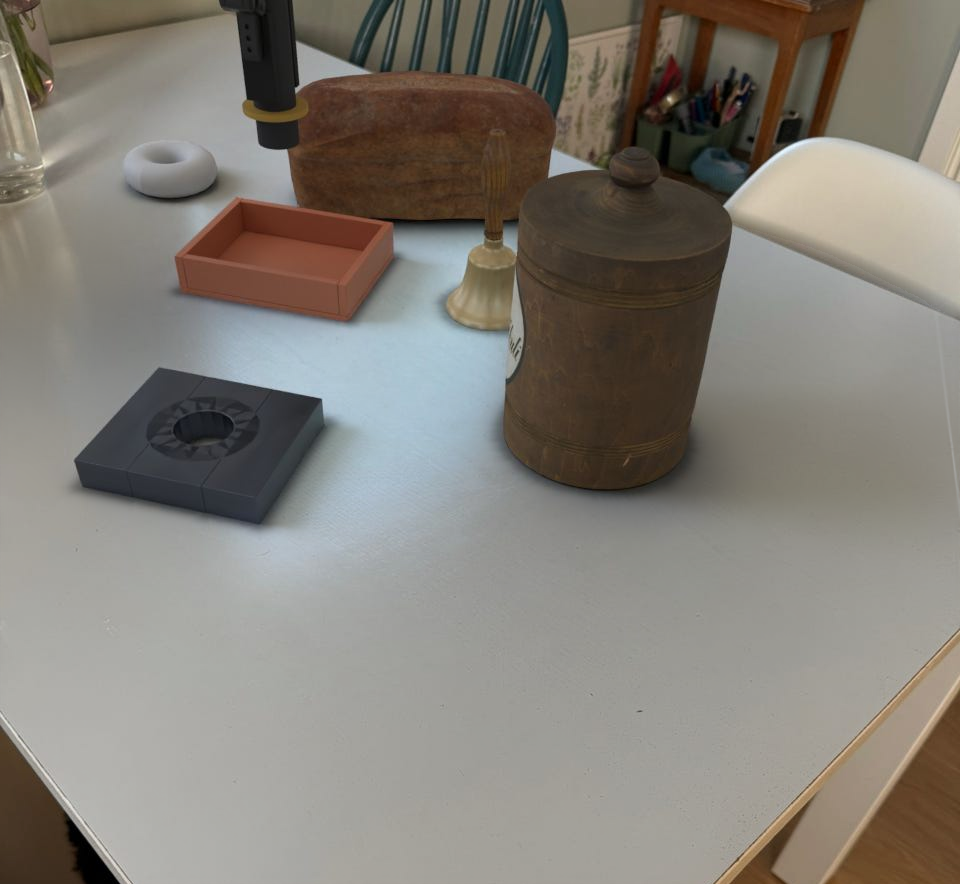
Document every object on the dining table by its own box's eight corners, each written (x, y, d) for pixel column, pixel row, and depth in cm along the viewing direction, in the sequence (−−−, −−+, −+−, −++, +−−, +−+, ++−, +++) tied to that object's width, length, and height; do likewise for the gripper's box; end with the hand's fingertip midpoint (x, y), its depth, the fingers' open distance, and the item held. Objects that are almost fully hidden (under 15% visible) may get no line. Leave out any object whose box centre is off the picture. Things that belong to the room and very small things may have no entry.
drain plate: (82, 487, 72) (73, 459, 70) (164, 393, 81) (158, 366, 79) (259, 525, 70) (255, 497, 68) (324, 424, 79) (322, 398, 77)
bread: (555, 231, 105) (568, 108, 96) (288, 231, 102) (275, 104, 93) (537, 178, 114) (547, 61, 105) (292, 176, 111) (281, 56, 102)
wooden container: (563, 365, 87) (597, 94, 71) (715, 427, 81) (788, 149, 65) (465, 443, 78) (477, 155, 62) (627, 517, 73) (686, 223, 57)
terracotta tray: (181, 292, 92) (173, 255, 90) (240, 231, 101) (236, 196, 99) (347, 322, 90) (345, 285, 87) (394, 257, 99) (393, 222, 96)
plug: (236, 149, 85) (214, -13, 76) (262, 126, 89) (244, -30, 80) (296, 158, 84) (282, -4, 75) (320, 135, 88) (309, -22, 79)
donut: (231, 172, 112) (145, 161, 112) (227, 140, 109) (140, 129, 110) (202, 209, 105) (111, 197, 105) (197, 176, 102) (104, 164, 103)
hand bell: (516, 339, 89) (531, 157, 78) (432, 319, 91) (434, 138, 79) (544, 298, 95) (562, 122, 83) (464, 280, 96) (470, 105, 85)
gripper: (234, -271, 60) (276, 133, 77) (331, -289, 71) (348, 67, 88) (123, -281, 61) (188, 120, 78) (235, -297, 72) (271, 57, 90)
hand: (273, 91), depth 83 cm, fingers closed on plug, 4 cm apart
